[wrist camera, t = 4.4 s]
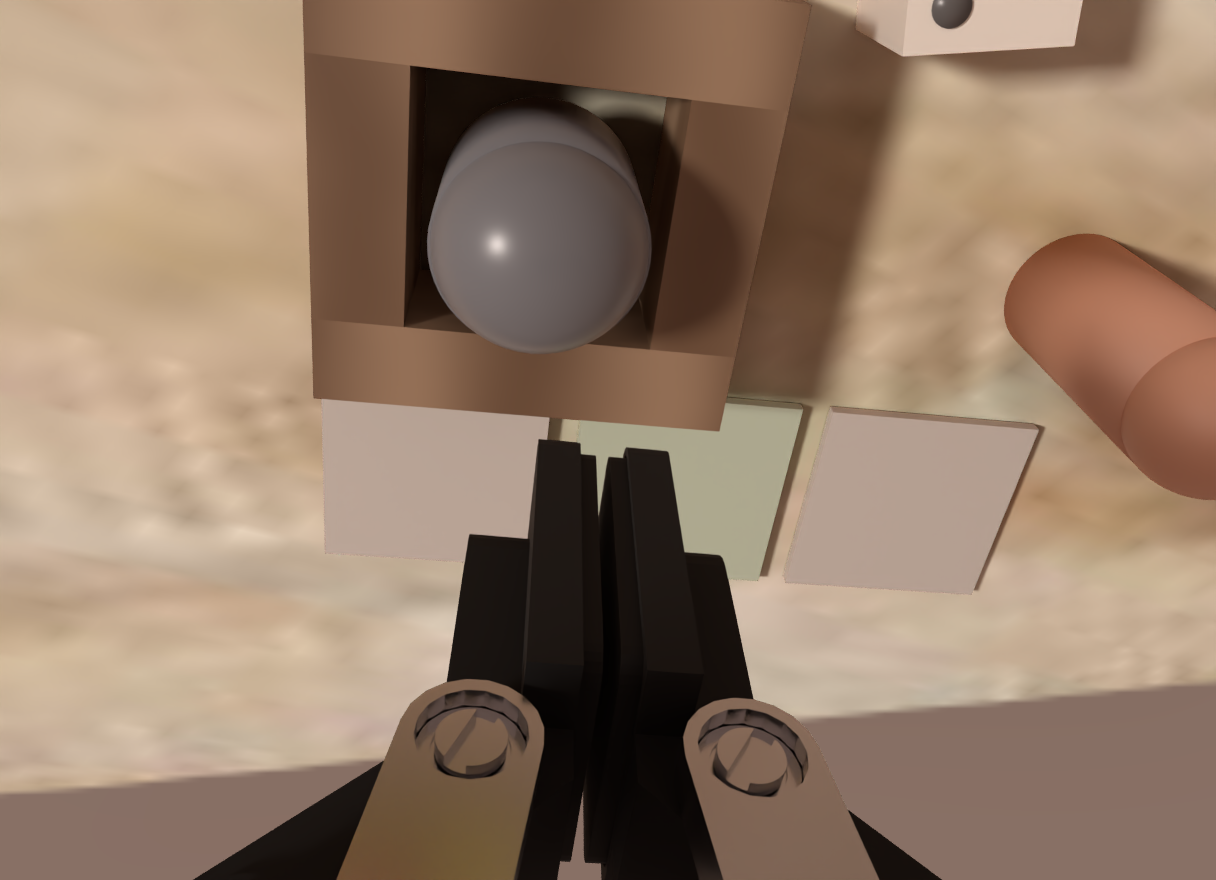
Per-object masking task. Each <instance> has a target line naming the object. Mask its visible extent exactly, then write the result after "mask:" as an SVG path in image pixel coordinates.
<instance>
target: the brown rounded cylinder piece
mask: <svg viewBox="0 0 1216 880" xmlns="http://www.w3.org/2000/svg"><path fill="white" fill-rule="evenodd" d="M1004 316H1005V322H1006V325H1007V328H1008V330H1009V332H1010V334H1011V335H1012V337H1013V338H1014V339H1015V341H1016V342H1017V343H1018V344H1019V345H1020V346H1021V347H1022V348H1023V349H1024V350H1025V351H1026V352H1027V353H1028V354H1029V355H1030V356H1031V357H1032V358H1033V359H1034V360H1035V361H1036V362H1037V363H1038V364H1039V365H1040V366H1041V368H1042V369H1043V370H1044V371H1045V372H1046V373H1047V374H1048V375H1049V376H1050V377H1051V378H1052V379H1053V380H1054V381H1055V382H1056V383H1057V384H1058V385H1059V386H1060V387H1061V388H1062V389H1063V390H1064V391H1065V392H1066V394H1067V395H1068V396H1069V397H1070V398H1071V399H1072V400H1073V401H1074V402H1075V403H1076V404H1077V405H1078V406H1079V407H1080V408H1081V409H1082V410H1083V411H1084V412H1085V413H1086V414H1087V415H1088V416H1089V417H1090V418H1091V419H1092V421H1093V422H1094V423H1095V424H1096V425H1097V426H1098V427H1099V428H1100V429H1101V430H1102V431H1103V432H1104V433H1105V434H1106V435H1107V436H1108V437H1109V438H1110V439H1111V440H1112V441H1113V442H1114V443H1115V444H1116V445H1117V447H1118V448H1119V449H1120V450H1121V451H1122V452H1123V453H1124V454H1125V455H1126V456H1127V457H1128V458H1129V459H1130V460H1131V461H1132V462H1133V463H1134V464H1135V465H1136V466H1137V467H1138V468H1139V469H1140V470H1141V471H1142V472H1143V473H1144V474H1145V475H1146V476H1147V477H1148V478H1150V479H1151V480H1152V481H1154V482H1155V483H1157V484H1158V485H1160V486H1162V487H1163V488H1165V489H1168V490H1170V491H1172V492H1175V493H1177V494H1180V495H1183V496H1187V497H1191V498H1196V499H1204V500H1216V310H1214V309H1213V308H1211V307H1210V306H1209V305H1207V304H1206V303H1204V302H1203V301H1201V300H1200V299H1198V298H1197V297H1195V296H1194V295H1193V294H1191V293H1190V292H1188V291H1187V290H1185V289H1184V288H1182V287H1181V286H1179V285H1178V284H1177V283H1175V282H1174V281H1172V280H1171V279H1169V278H1168V277H1166V276H1165V275H1163V274H1162V273H1161V272H1159V271H1158V270H1156V269H1155V268H1153V267H1152V266H1150V265H1149V264H1147V263H1146V262H1145V261H1143V260H1142V259H1140V258H1139V257H1137V256H1136V255H1134V254H1133V253H1131V252H1130V251H1129V250H1127V249H1126V248H1124V247H1123V246H1121V245H1120V244H1118V243H1117V242H1115V241H1114V240H1112V239H1110V238H1107V237H1104V236H1101V235H1096V234H1076V235H1072V236H1067V237H1064V238H1061V239H1058V240H1056V241H1054V242H1052V243H1050V244H1048V245H1046V246H1045V247H1043V248H1041V249H1040V250H1039V251H1037V252H1036V253H1035V254H1033V255H1032V256H1031V257H1030V258H1029V259H1028V260H1027V261H1026V262H1025V263H1024V264H1023V265H1022V266H1021V268H1020V269H1019V271H1018V272H1017V273H1016V275H1015V276H1014V278H1013V280H1012V282H1011V284H1010V286H1009V289H1008V291H1007V295H1006V298H1005V305H1004Z"/></svg>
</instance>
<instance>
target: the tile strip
mask: <svg viewBox="0 0 1216 880" xmlns="http://www.w3.org/2000/svg"><path fill="white" fill-rule="evenodd" d="M802 413H803V408H802V406H801V404H798V403H787V402H775V401H763V400H752V399H740V398H729V397H727V399H726V403H725V408H724V413H723V417H722V422H721V426H720V431H719V432H717V431H705V430H693V429H681V428H669V427H657V426H644V425H632V424H620V423H608V422H596V421H584V420H580V423H579V431H578V438H577V443H580V444H581V454H586V455H596V464H597V490H598V516H599V511H600V504H601V498H602V491H603V485H604V478H605V471H606V465H607V460H608V457H618V458H623V454H624V451H625V448H626V447H630V448H641V449H651V450H662V451H668V453H669V456H670V463H671V469H672V475H673V482H674V488H675V494H676V501H677V507H678V513H679V520H680V526H681V533H682V539H683V545H684V552H690V553H702V554H713V555H720V556H721V557H722V558H723V560H724V563H725V567H726V571H727V576H728V579H733V580H748V581H758V579H759V576H760V572H761V568H762V564H763V560H764V557H765V553H766V549H767V545H768V541H769V538H770V534H771V530H772V526H773V522H774V519H775V515H776V511H777V507H778V504H779V500H780V496H781V492H782V488H783V485H784V481H785V477H786V473H787V469H788V466H789V462H790V458H791V454H792V450H793V447H794V443H795V439H796V435H797V431H798V428H799V424H800V420H801V416H802ZM548 427H549V418H547V417H535V416H523V415H511V414H499V413H486V412H474V411H462V410H450V409H438V408H426V407H414V406H401V405H389V404H377V403H365V402H353V401H341V400H329V399H322V441H323V485H324V529H325V553H329V554H345V555H360V556H376V557H391V558H407V559H422V560H438V561H453V562H465V557H466V551H467V544H468V538H469V534H477V535H489V536H501V537H513V538H524V539H527V538H528V529H529V520H530V510H531V501H532V492H533V483H534V473H535V464H536V455H537V446H538V439H545V440H547V436H548ZM1038 431H1039V429H1038V428H1037V427H1036V426H1035V425H1034V424H1029V423H1018V422H1006V421H995V420H983V419H971V418H960V417H948V416H937V415H925V414H914V413H902V412H891V411H879V410H867V409H856V408H844V407H833V406H830V409H829V413H828V416H827V420H826V423H825V427H824V431H823V434H822V438H821V441H820V445H819V449H818V452H817V456H816V459H815V463H814V466H813V470H812V474H811V477H810V481H809V484H808V488H807V492H806V495H805V499H804V502H803V506H802V509H801V513H800V517H799V520H798V524H797V527H796V531H795V534H794V538H793V542H792V545H791V549H790V552H789V556H788V560H787V563H786V567H785V570H784V574H783V577H784V580H785V583H795V584H810V585H826V586H842V587H857V588H873V589H888V590H904V591H919V592H935V593H950V594H966V595H972V593H973V590H974V588H975V585H976V583H977V581H978V578H979V576H980V573H981V571H982V568H983V566H984V563H985V561H986V558H987V556H988V554H989V551H990V549H991V546H992V544H993V541H994V539H995V536H996V534H997V532H998V529H999V527H1000V524H1001V522H1002V519H1003V517H1004V514H1005V512H1006V510H1007V507H1008V505H1009V502H1010V500H1011V497H1012V495H1013V492H1014V490H1015V488H1016V485H1017V483H1018V480H1019V478H1020V475H1021V473H1022V470H1023V468H1024V466H1025V463H1026V461H1027V458H1028V456H1029V453H1030V451H1031V448H1032V446H1033V444H1034V441H1035V439H1036V436H1037V434H1038Z"/></svg>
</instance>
